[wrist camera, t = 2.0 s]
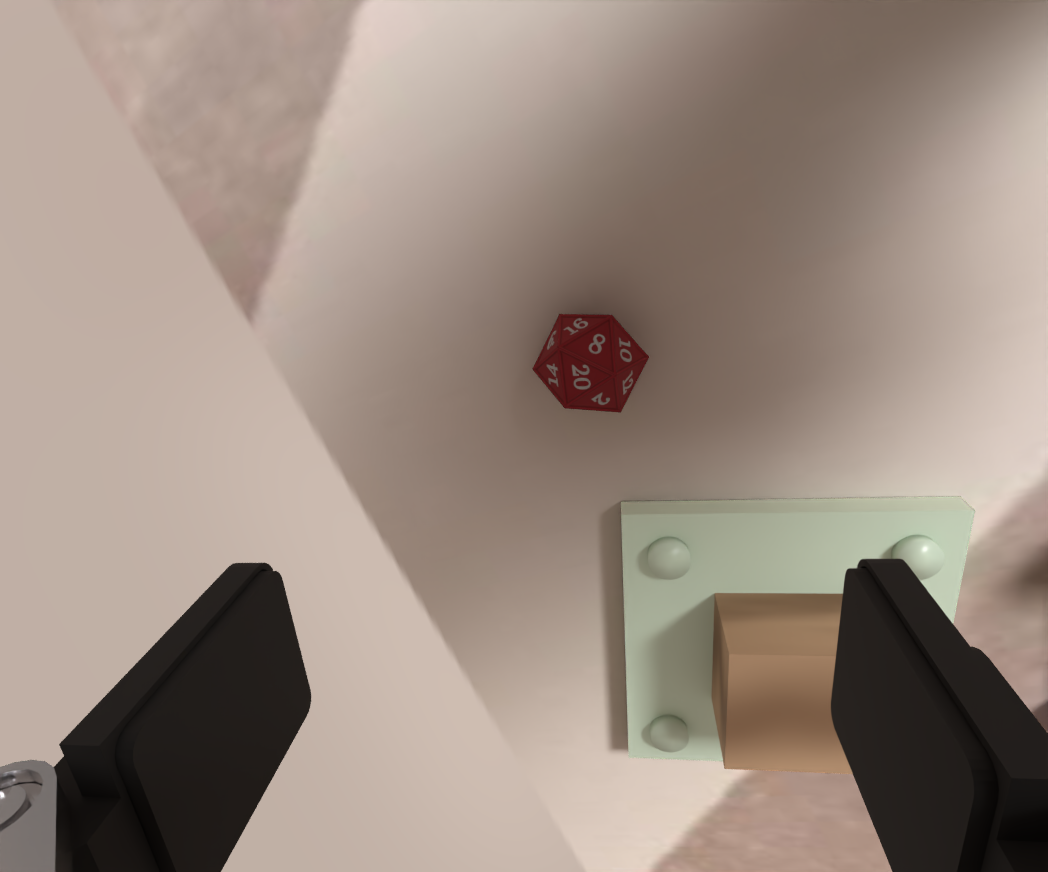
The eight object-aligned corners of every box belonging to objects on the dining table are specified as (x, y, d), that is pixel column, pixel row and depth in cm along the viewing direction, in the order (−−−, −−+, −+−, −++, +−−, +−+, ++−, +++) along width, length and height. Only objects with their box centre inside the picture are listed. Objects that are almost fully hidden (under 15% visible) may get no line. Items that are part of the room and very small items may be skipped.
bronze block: (714, 592, 29) (729, 654, 26) (858, 593, 28) (894, 656, 25) (711, 698, 32) (724, 768, 28) (844, 702, 31) (876, 774, 27)
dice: (531, 310, 27) (519, 333, 23) (643, 297, 26) (648, 319, 22) (543, 398, 28) (533, 433, 24) (649, 388, 27) (655, 422, 24)
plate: (620, 501, 30) (621, 521, 28) (960, 496, 28) (982, 517, 26) (628, 738, 35) (629, 767, 33) (914, 749, 33) (930, 780, 31)
